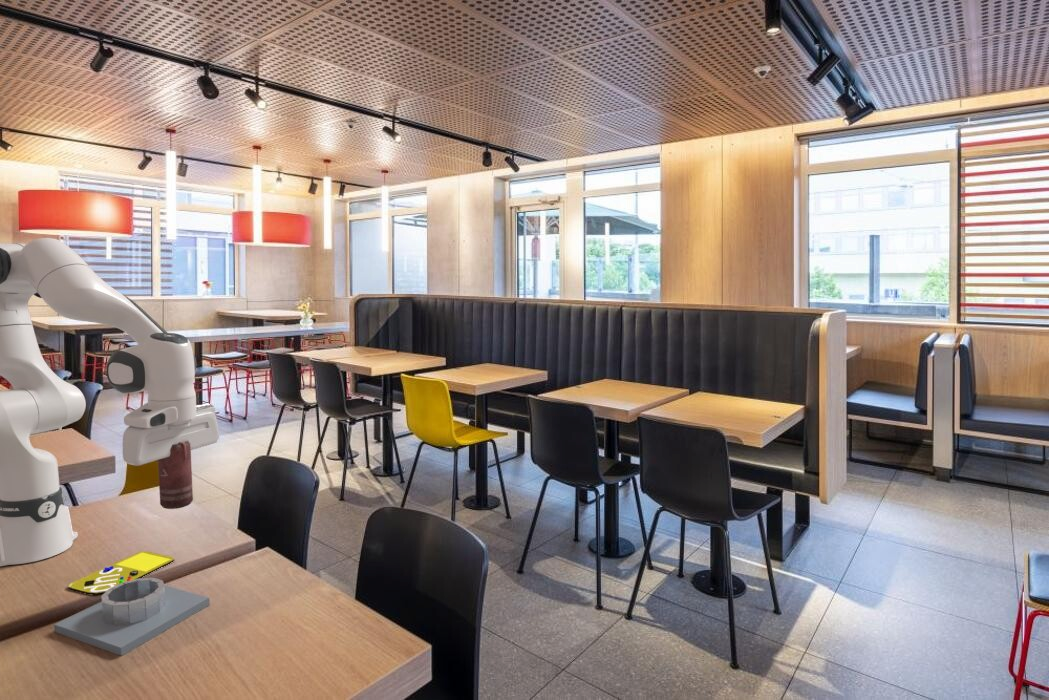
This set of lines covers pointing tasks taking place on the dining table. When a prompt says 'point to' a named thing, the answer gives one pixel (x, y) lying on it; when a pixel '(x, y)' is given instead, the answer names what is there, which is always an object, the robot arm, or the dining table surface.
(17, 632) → the dining table surface
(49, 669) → the dining table surface
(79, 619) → the base board
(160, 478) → the can
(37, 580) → the dining table surface
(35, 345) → the robot arm
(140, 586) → the ring holder
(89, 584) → the game console
